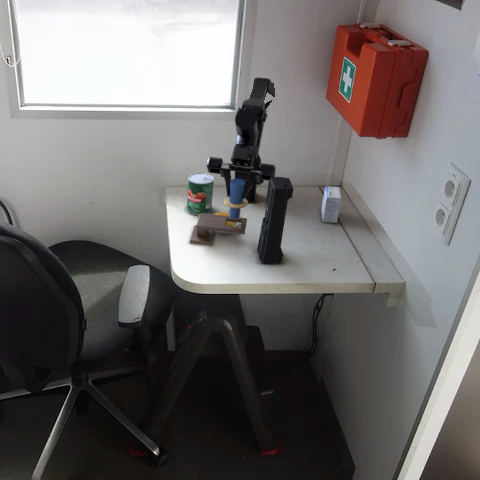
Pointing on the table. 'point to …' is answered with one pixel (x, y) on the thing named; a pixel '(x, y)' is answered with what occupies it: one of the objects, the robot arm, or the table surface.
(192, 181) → the canned tomato
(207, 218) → the stand
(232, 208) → the peg
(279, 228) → the portable radio
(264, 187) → the table surface
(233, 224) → the bread roll
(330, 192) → the medicine box
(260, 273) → the table surface
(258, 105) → the robot arm
